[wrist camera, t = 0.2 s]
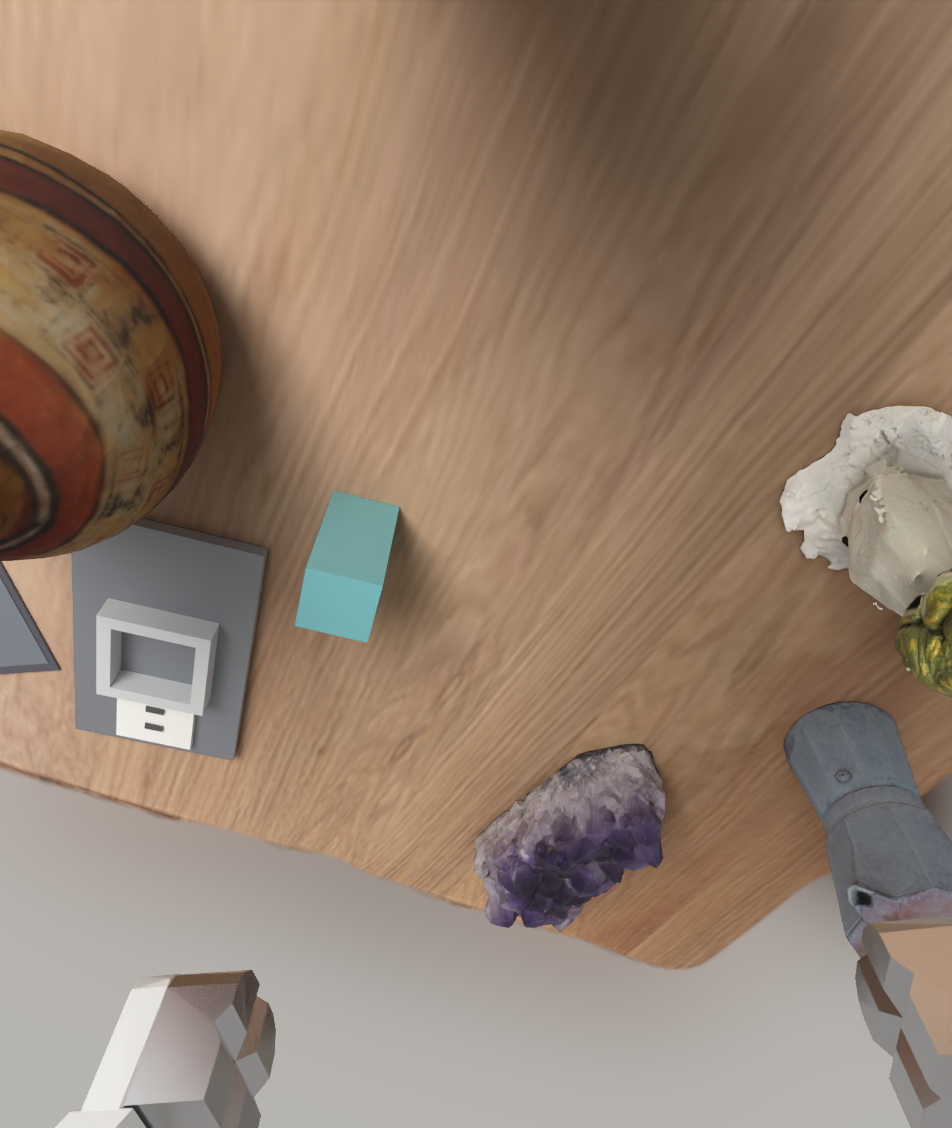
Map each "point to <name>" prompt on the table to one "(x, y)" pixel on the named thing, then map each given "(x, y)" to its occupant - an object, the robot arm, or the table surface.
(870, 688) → the table surface
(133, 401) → the ceramic pitcher
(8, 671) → the phone
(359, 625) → the teal box with slot
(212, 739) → the grey socket base board
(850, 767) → the moka pot
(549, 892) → the geode
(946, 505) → the green-topped white figurine
